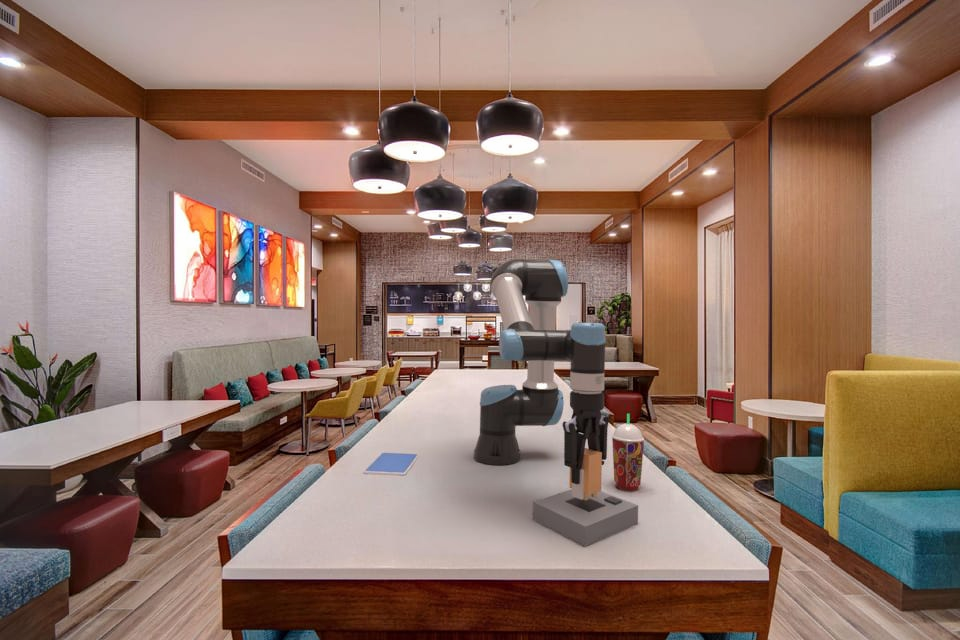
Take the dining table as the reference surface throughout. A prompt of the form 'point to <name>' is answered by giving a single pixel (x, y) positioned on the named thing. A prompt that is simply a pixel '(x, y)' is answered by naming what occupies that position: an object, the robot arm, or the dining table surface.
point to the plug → (591, 473)
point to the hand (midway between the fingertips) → (585, 494)
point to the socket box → (585, 515)
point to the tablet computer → (392, 464)
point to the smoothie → (627, 456)
